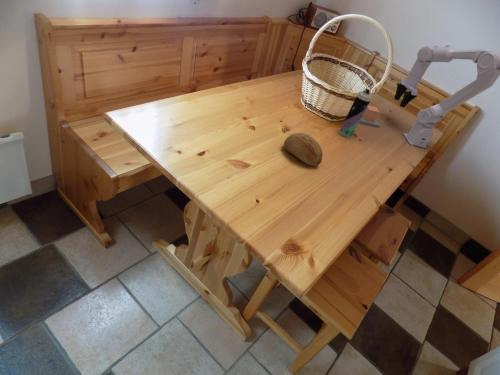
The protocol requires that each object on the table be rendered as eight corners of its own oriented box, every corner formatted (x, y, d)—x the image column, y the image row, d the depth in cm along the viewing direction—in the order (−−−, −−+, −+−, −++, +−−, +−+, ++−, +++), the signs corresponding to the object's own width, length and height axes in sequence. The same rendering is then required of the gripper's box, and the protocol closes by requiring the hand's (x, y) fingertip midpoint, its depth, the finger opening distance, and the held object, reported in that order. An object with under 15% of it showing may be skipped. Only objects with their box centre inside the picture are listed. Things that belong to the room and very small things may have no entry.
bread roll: (309, 173, 104) (318, 153, 99) (275, 149, 110) (282, 129, 105) (324, 164, 111) (333, 145, 106) (291, 142, 117) (298, 123, 112)
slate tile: (379, 128, 146) (380, 125, 146) (359, 123, 145) (360, 120, 144) (373, 117, 154) (374, 115, 153) (354, 112, 153) (355, 110, 152)
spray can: (337, 133, 131) (359, 88, 119) (340, 128, 136) (362, 84, 123) (349, 139, 130) (373, 94, 118) (352, 134, 134) (376, 90, 122)
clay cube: (374, 121, 147) (379, 112, 144) (364, 119, 147) (369, 109, 143) (371, 116, 151) (376, 107, 148) (361, 114, 150) (366, 104, 147)
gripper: (401, 67, 146) (386, 94, 154) (413, 79, 134) (396, 108, 143) (415, 70, 147) (399, 97, 155) (428, 83, 135) (410, 111, 144)
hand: (398, 103), depth 149 cm, fingers open, 7 cm apart
